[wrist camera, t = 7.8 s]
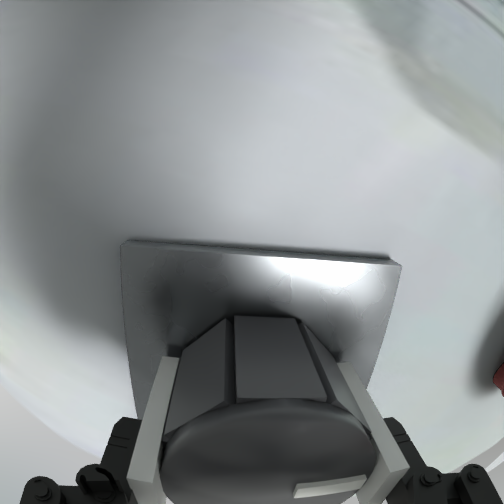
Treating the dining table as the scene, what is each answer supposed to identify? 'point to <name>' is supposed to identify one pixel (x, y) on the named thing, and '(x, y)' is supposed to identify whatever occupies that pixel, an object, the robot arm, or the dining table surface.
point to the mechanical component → (499, 379)
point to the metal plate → (249, 300)
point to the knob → (263, 420)
